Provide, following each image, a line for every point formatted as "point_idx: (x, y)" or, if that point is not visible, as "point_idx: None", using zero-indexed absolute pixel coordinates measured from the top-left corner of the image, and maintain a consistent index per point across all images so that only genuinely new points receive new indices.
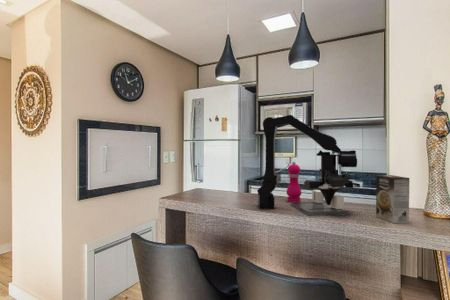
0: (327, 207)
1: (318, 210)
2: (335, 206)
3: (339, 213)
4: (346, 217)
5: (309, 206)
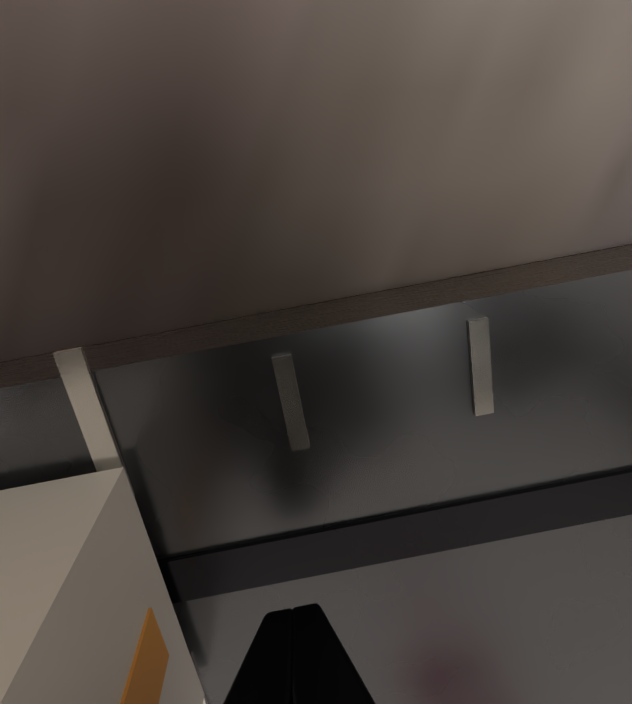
0: None
1: (608, 365)
2: (127, 559)
3: (107, 347)
4: (9, 84)
5: (619, 675)
